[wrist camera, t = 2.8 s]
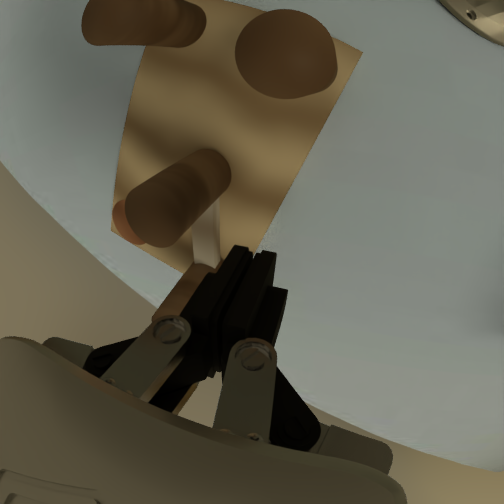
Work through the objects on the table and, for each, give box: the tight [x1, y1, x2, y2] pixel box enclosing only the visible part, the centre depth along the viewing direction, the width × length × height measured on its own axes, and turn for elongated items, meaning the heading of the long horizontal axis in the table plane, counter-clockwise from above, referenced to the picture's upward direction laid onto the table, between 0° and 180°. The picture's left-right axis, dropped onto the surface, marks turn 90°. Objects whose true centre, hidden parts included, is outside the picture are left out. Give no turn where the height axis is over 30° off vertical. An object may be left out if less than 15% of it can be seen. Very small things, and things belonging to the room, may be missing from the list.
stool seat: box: [81, 0, 363, 274], centre depth 17 cm, size 23×14×10 cm, turn 157°
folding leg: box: [125, 149, 231, 322], centre depth 19 cm, size 13×4×7 cm, turn 177°
